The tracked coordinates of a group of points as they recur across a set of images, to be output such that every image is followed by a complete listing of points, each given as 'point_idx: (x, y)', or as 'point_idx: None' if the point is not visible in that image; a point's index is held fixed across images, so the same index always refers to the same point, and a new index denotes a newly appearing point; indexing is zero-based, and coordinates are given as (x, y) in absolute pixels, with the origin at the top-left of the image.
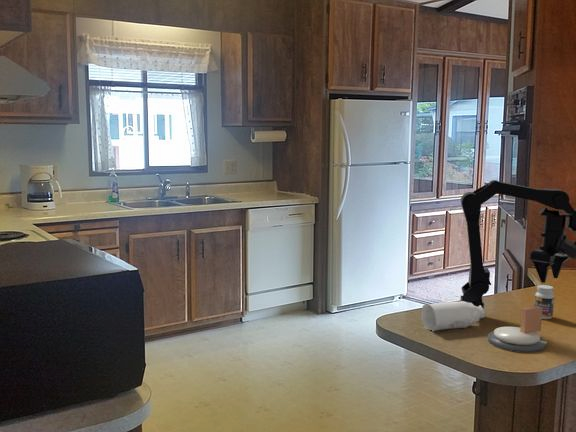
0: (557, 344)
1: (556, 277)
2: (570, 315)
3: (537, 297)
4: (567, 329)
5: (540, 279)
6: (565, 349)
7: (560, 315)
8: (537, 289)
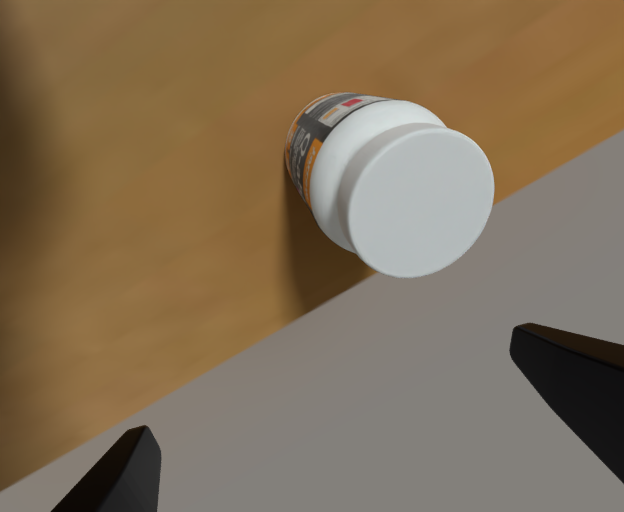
0: (19, 428)
1: (514, 358)
2: None
3: (311, 164)
4: (248, 331)
5: (101, 463)
6: (4, 468)
7: None
8: (357, 154)
